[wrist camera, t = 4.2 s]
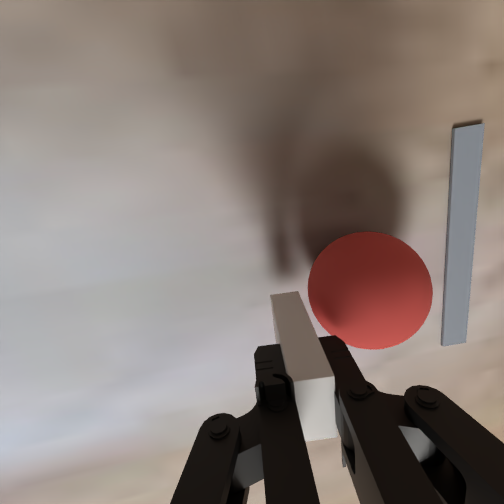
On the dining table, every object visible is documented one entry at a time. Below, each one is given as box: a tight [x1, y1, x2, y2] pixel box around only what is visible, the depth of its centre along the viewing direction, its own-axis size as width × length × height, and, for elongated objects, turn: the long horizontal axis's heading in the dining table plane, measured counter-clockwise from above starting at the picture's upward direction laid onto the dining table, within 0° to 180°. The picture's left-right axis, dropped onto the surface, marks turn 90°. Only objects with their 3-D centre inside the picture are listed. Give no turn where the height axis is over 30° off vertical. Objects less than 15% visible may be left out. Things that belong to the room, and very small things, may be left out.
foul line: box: [441, 123, 485, 346], centre depth 19 cm, size 14×2×1 cm, turn 9°
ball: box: [308, 232, 433, 349], centre depth 16 cm, size 6×6×6 cm
